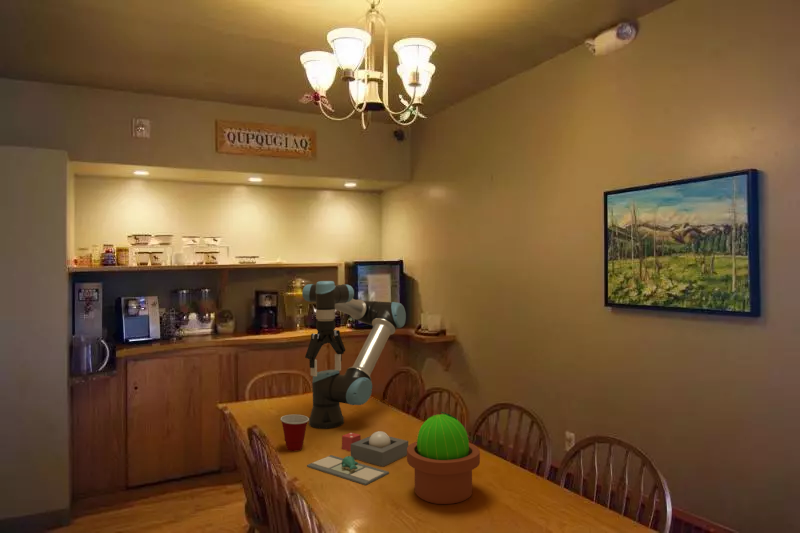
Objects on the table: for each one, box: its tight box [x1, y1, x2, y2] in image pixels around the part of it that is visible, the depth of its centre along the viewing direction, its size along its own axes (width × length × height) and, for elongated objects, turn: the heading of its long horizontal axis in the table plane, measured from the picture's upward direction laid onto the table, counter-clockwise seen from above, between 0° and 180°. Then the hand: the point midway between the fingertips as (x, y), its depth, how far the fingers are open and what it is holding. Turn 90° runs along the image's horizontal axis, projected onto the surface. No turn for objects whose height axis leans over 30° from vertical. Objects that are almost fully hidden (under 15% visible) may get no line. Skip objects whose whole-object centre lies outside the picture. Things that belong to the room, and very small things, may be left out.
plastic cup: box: [280, 413, 310, 452], centre depth 216 cm, size 11×11×12 cm
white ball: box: [369, 430, 391, 449], centre depth 207 cm, size 8×8×8 cm
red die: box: [341, 432, 362, 452], centre depth 216 cm, size 5×5×5 cm
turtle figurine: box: [342, 455, 359, 471], centre depth 193 cm, size 6×7×4 cm
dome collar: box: [350, 435, 409, 467], centre depth 207 cm, size 15×15×5 cm
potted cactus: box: [406, 411, 481, 505], centre depth 175 cm, size 22×22×25 cm
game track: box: [306, 454, 390, 486], centre depth 194 cm, size 12×27×1 cm, turn 53°
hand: (326, 373), depth 226 cm, fingers open, 13 cm apart
